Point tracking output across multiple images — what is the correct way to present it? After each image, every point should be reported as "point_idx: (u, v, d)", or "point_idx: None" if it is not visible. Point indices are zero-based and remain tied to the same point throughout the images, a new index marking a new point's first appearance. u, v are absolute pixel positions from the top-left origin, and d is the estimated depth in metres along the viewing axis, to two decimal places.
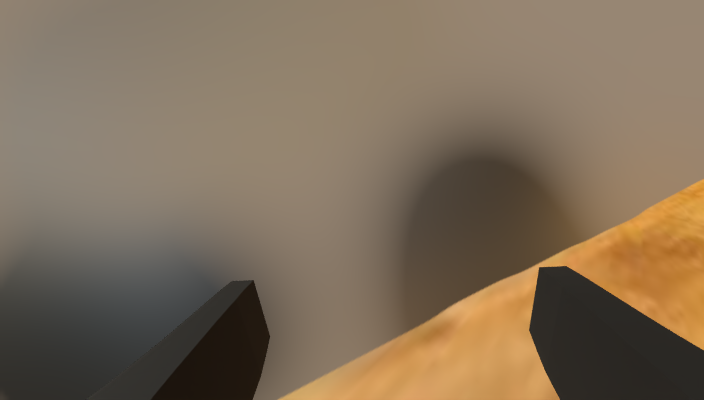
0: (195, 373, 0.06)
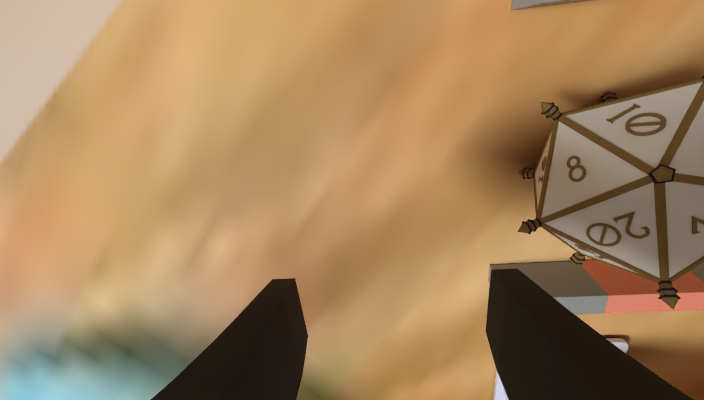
0: (252, 372, 0.06)
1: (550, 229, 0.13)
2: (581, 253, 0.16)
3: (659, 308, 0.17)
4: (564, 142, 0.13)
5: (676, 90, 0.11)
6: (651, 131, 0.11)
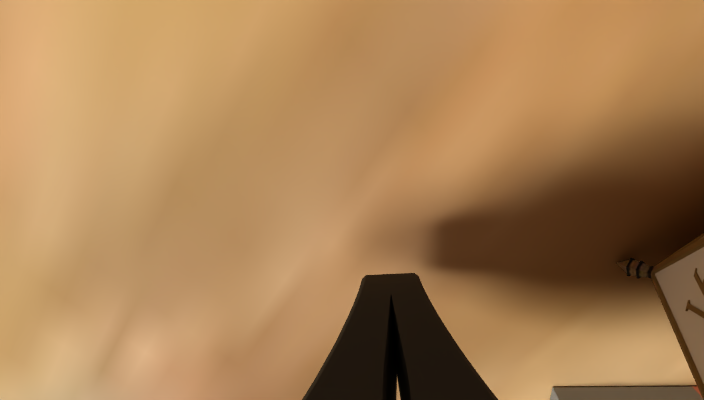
0: (386, 370, 0.06)
1: None
2: None
3: None
4: None
5: None
6: None
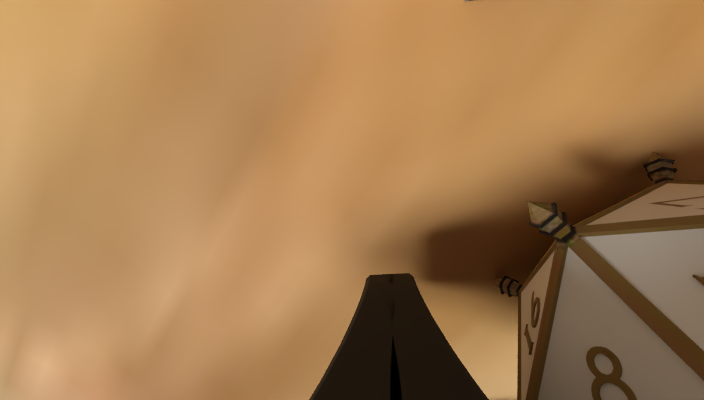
0: (392, 370, 0.06)
1: None
2: None
3: None
4: (581, 301, 0.06)
5: None
6: None
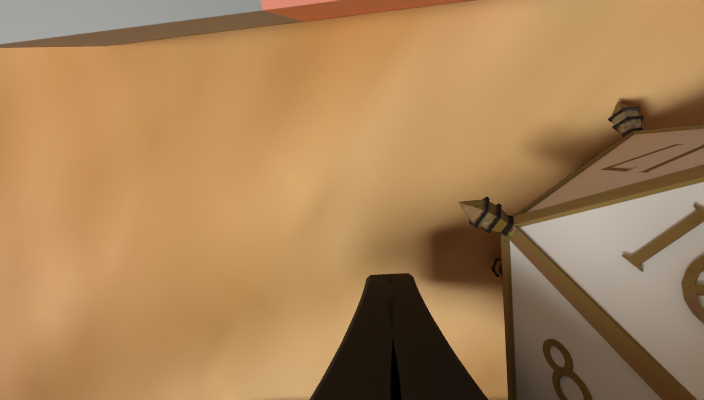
0: (393, 370, 0.06)
1: None
2: None
3: None
4: (530, 294, 0.05)
5: None
6: None
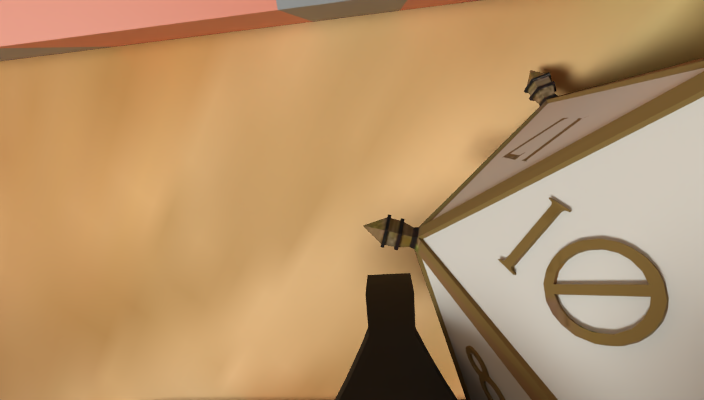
0: None
1: None
2: None
3: None
4: (446, 303, 0.05)
5: (662, 129, 0.03)
6: (624, 322, 0.03)
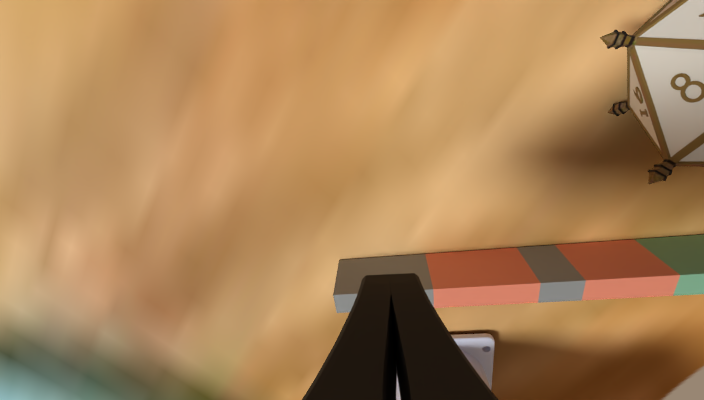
0: (386, 370, 0.06)
1: (690, 164, 0.11)
2: None
3: (487, 301, 0.16)
4: (655, 64, 0.11)
5: None
6: None
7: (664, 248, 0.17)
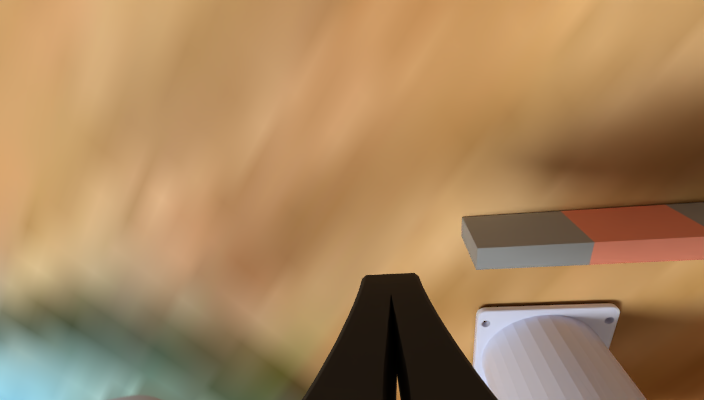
0: (386, 370, 0.06)
1: None
2: None
3: (653, 257, 0.15)
4: None
5: None
6: None
7: None
